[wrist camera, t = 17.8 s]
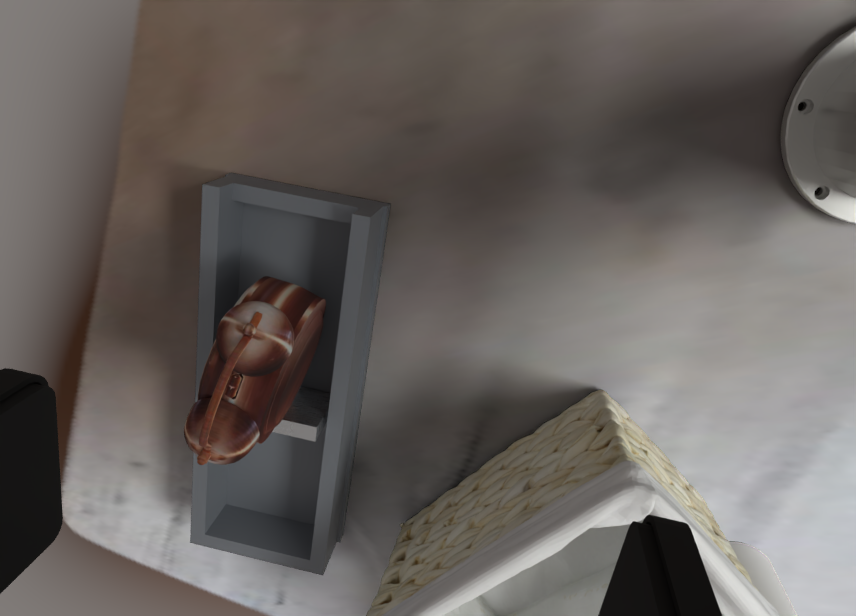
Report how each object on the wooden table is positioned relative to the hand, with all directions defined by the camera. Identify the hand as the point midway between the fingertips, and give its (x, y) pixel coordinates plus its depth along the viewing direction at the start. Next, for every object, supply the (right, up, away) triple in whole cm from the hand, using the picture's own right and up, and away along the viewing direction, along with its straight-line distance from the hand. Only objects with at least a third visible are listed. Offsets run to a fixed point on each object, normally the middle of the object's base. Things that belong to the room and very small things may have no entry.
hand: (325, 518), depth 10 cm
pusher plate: (-10, -3, +41) cm, 42 cm away
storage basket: (+12, -14, +43) cm, 46 cm away
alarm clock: (-9, +1, +39) cm, 40 cm away
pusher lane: (-9, -2, +41) cm, 42 cm away
